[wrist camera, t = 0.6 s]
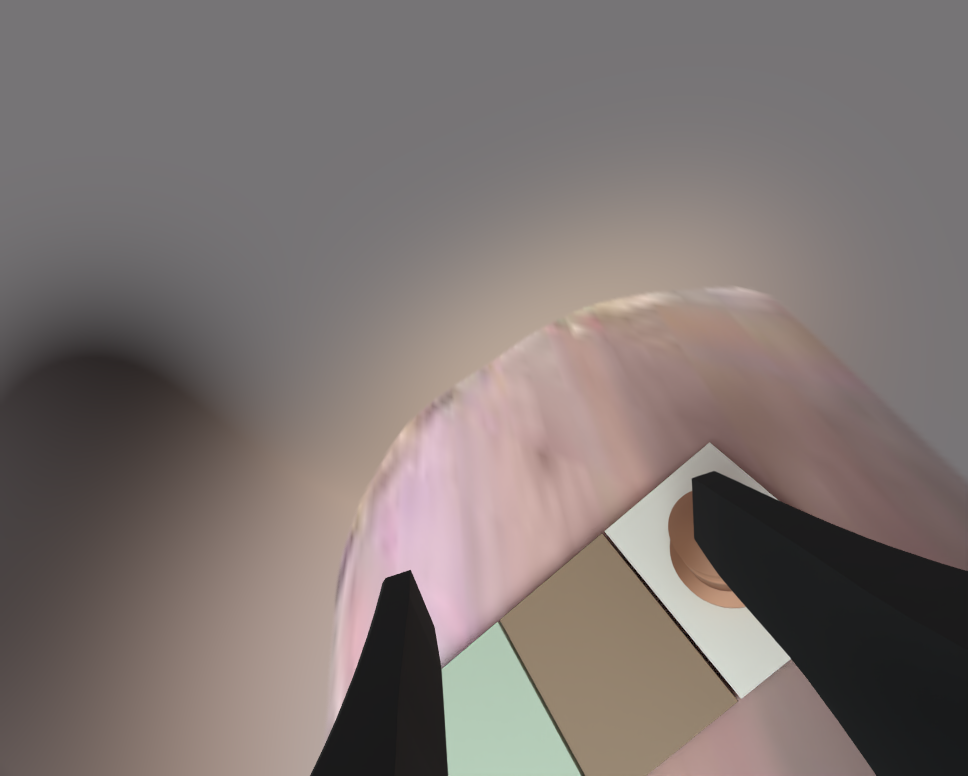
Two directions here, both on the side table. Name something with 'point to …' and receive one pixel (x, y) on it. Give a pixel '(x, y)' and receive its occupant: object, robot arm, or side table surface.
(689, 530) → the pawn
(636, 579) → the board
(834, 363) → the side table surface
